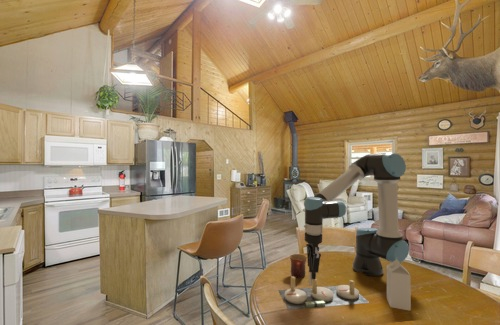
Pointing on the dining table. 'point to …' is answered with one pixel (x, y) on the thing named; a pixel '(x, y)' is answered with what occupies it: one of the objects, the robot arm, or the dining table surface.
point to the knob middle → (321, 292)
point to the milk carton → (398, 286)
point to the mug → (298, 265)
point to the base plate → (315, 303)
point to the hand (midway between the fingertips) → (312, 285)
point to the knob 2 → (348, 290)
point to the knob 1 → (295, 294)
